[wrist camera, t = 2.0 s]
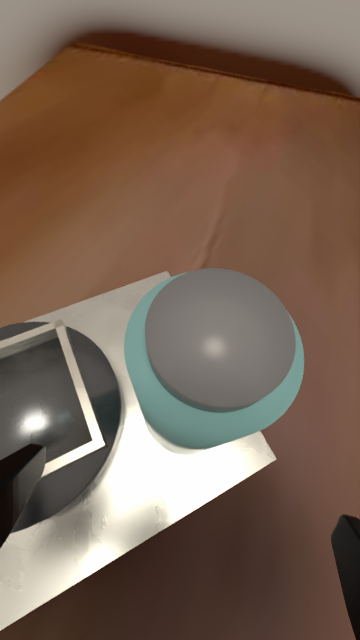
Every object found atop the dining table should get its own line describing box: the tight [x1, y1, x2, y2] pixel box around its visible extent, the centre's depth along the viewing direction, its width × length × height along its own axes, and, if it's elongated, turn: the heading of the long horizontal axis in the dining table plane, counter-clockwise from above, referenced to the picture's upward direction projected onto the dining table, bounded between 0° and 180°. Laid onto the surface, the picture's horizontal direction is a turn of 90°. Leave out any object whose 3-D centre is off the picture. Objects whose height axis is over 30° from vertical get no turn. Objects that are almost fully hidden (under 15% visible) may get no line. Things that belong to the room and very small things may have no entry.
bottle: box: [124, 268, 304, 455], centre depth 14 cm, size 6×6×13 cm
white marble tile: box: [0, 271, 276, 630], centre depth 18 cm, size 17×22×5 cm
